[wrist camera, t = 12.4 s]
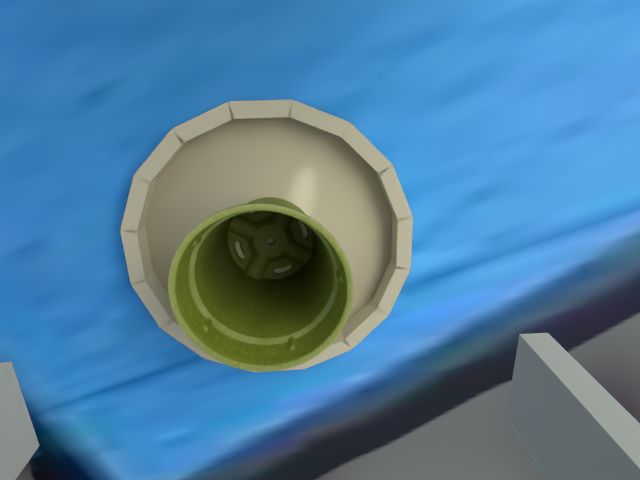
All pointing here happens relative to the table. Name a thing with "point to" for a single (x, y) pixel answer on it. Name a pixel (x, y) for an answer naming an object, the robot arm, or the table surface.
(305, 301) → the plant pot
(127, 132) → the table surface
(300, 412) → the table surface
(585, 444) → the robot arm
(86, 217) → the table surface
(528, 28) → the table surface
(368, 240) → the saucer
